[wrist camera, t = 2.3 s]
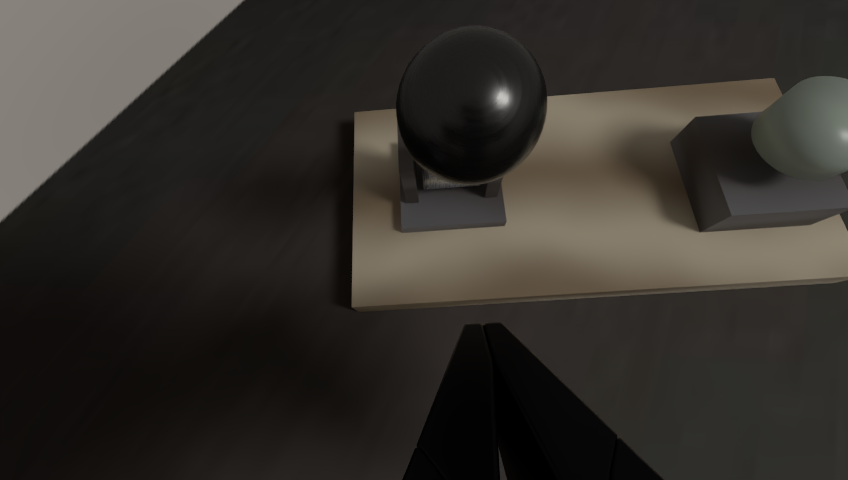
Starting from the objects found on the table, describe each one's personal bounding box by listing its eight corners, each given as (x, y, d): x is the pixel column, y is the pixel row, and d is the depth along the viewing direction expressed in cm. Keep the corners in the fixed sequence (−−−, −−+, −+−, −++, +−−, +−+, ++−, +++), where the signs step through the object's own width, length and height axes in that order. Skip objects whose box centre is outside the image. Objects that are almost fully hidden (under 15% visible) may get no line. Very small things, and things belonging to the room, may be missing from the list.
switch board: (833, 282, 17) (992, 248, 12) (358, 311, 18) (325, 291, 13) (751, 97, 21) (848, 13, 16) (360, 128, 22) (335, 58, 17)
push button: (866, 177, 14) (918, 154, 12) (770, 184, 14) (809, 162, 12) (826, 101, 15) (869, 72, 14) (738, 108, 15) (770, 80, 14)
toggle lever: (481, 194, 18) (575, 173, 6) (420, 199, 18) (394, 186, 6) (478, 132, 17) (569, -20, 6) (416, 137, 18) (378, -3, 6)
